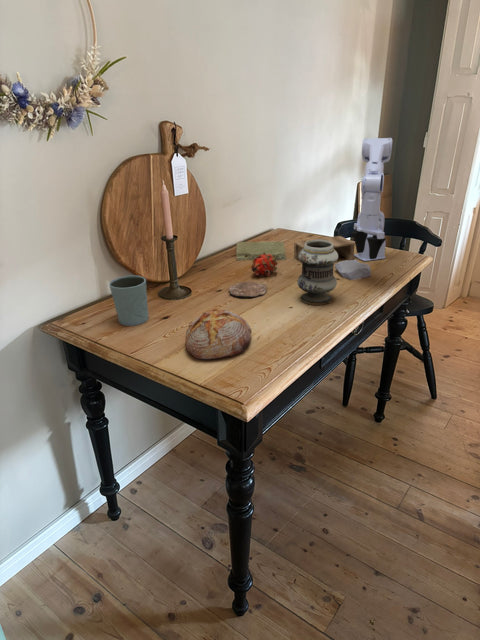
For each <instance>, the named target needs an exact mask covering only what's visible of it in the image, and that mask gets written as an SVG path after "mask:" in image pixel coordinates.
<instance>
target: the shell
mask: <svg viewBox="0 0 480 640" xmlns="http://www.w3.org/2000/svg"><path fill="white" fill-rule="evenodd" d="M267 288H268V286H267V284H265V283H257V282H254V281H243V282H242V281H241V282H237V283H235V284H231V285H229V288H228V293H229V294H230V296H231V297H233V298H235V299H236V298H237V299H241V298H242V299H256V298H259V297H263V296H265V294H267V292H268V289H267Z"/></svg>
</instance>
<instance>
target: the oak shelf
mask: <svg viewBox="0 0 480 640" xmlns="http://www.w3.org/2000/svg"><path fill="white" fill-rule="evenodd" d="M310 240H327V241H330V242H332V243H333V248H334V250H335V251H336V252H337V253H338V255H340V256H342V257H343V258H345V259H347V260H355V259H354V257H355V256H354V254H355V247H356V245H355V241H352V240H349V239H347V238H346V237H343V236H341V235H337V236H335V235H334V236H329V237H321V238H320V237H319V238H314V239H313V238H312V239H307V240H299V241H293V259H295V260H297V261H299V263H301V264H302V262H301V261H300V260H299V253H300V251H301V250H302V249H304V245H305V243H306V242H307V241H310Z"/></svg>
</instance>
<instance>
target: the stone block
mask: <svg viewBox="0 0 480 640" xmlns="http://www.w3.org/2000/svg"><path fill="white" fill-rule="evenodd" d="M334 269H336V270H337V273H339V276H342V278H343V279H347V280H351V281H352V280H353V281H354V280H359V279H363V278H368V277H371V274H372V268H371V266H370V265H369V264H367V263H364V262H363V263H361V262H359V261H358V259H353V260H349V259H347V260H346V259H345V260H342V261H337V262H335V263H334Z"/></svg>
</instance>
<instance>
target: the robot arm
mask: <svg viewBox="0 0 480 640" xmlns="http://www.w3.org/2000/svg"><path fill="white" fill-rule="evenodd" d="M361 145H362V146H361V158H362V161H363V162H365V163H366V164H365V166H364V175H363V176H362V178H361V186H360V192H361V205H360V208H361V209H360V211H359V213H358V215H357V222H355V223H354V224H353V230H354V231H353V230H352V231H351V235H352V238H353V240H354V243H355V250H356V253H354V257H355V258H357V259H359V260H361V261H362V262H368V261H369V262H371V261H377V260H383V259H386V256H385V252H386V244H387V243H386V236H385V232H384V231H385V230H384V228H385V213H384V212H383V211H381V200H382V193H383V192H384V185H385V184H384V183H385V182H384V181H385V175H384V167H385V166H384V164H385V163H388V162H389V161H390V159H391V156H392V149H393V139H392V137H384V138H383V137H382V138H381V137H379V138H378V137H372V138H370V137H369V138H367V137H364V138H363V140H362V144H361Z"/></svg>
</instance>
